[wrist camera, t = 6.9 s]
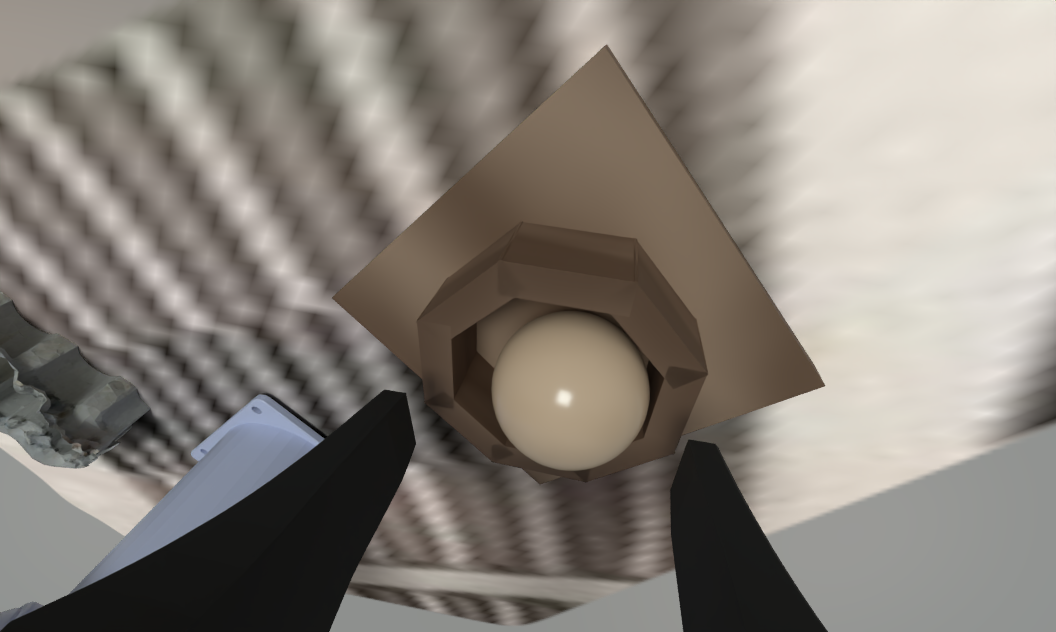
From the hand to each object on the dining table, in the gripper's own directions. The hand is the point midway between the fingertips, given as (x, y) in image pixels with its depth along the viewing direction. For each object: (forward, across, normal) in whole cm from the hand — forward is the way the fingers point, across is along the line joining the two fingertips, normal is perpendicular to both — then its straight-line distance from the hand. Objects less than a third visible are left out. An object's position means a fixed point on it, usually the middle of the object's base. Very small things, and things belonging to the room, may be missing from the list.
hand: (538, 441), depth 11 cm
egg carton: (+6, +28, +8) cm, 30 cm away
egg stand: (+5, 0, 0) cm, 5 cm away
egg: (+2, 0, 0) cm, 2 cm away
